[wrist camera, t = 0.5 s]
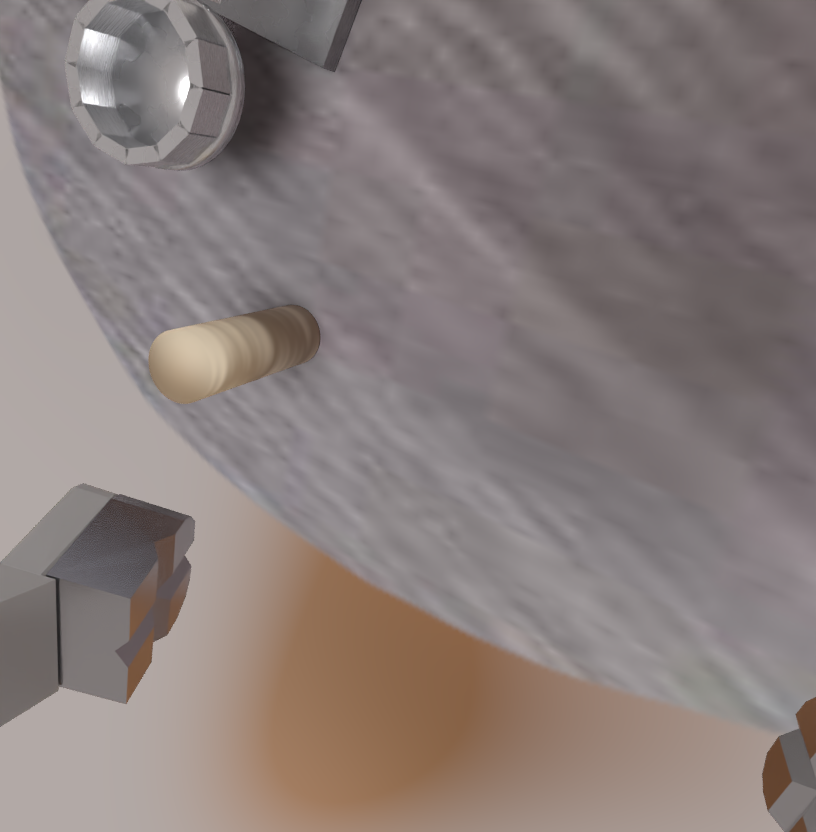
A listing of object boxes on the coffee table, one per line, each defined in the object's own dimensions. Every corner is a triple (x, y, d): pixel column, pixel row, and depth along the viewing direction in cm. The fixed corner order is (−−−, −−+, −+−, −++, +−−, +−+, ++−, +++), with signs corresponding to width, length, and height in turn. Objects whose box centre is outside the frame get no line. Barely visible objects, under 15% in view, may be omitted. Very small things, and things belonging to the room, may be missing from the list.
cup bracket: (258, -175, 44) (131, -281, 34) (402, -111, 42) (308, -205, 32) (166, 135, 51) (40, 118, 41) (285, 203, 49) (180, 201, 39)
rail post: (280, 294, 51) (160, 315, 40) (328, 323, 50) (220, 353, 39) (260, 345, 52) (140, 379, 41) (307, 374, 51) (196, 417, 41)
